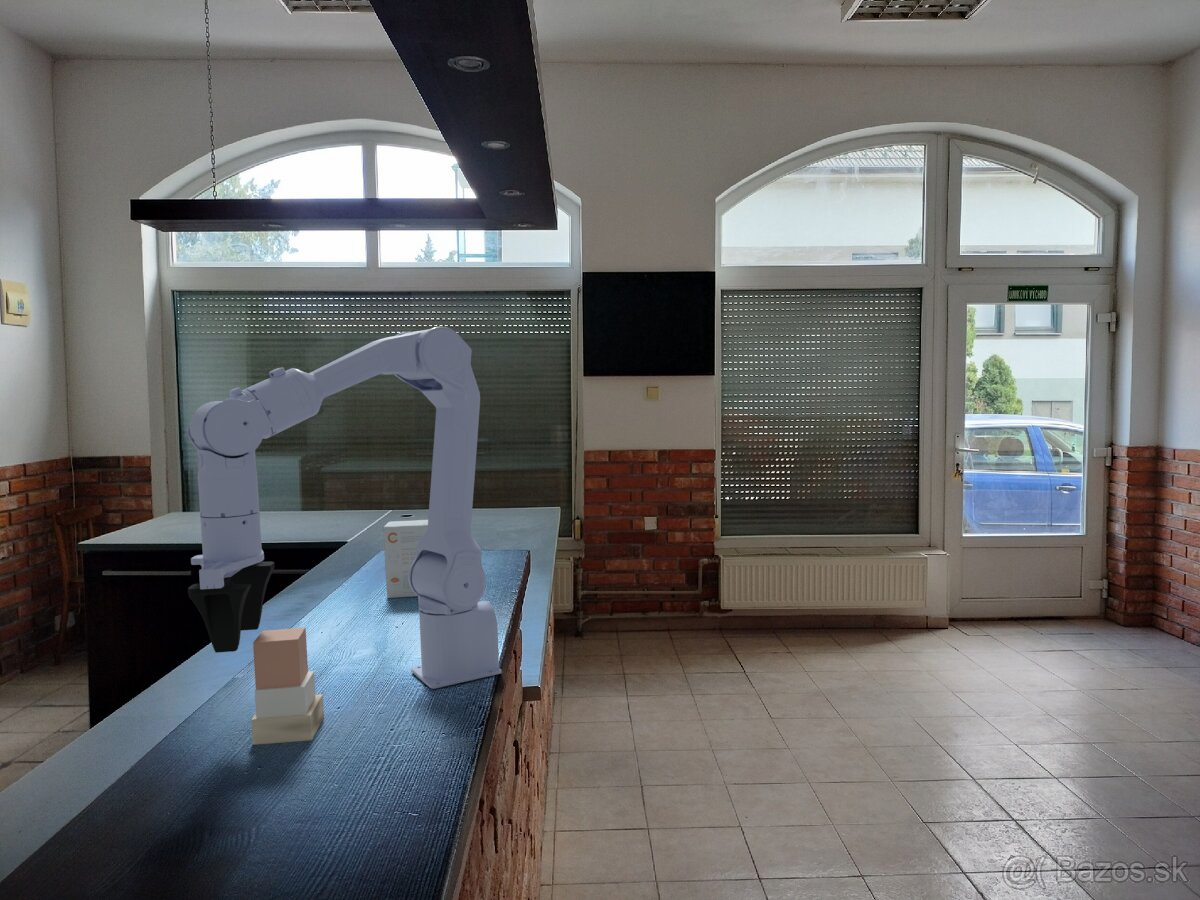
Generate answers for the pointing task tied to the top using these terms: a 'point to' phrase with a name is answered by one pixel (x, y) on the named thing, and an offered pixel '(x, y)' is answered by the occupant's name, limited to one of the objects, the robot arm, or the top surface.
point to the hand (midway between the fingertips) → (237, 639)
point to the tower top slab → (286, 699)
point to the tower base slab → (289, 725)
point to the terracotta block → (280, 658)
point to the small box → (401, 554)
